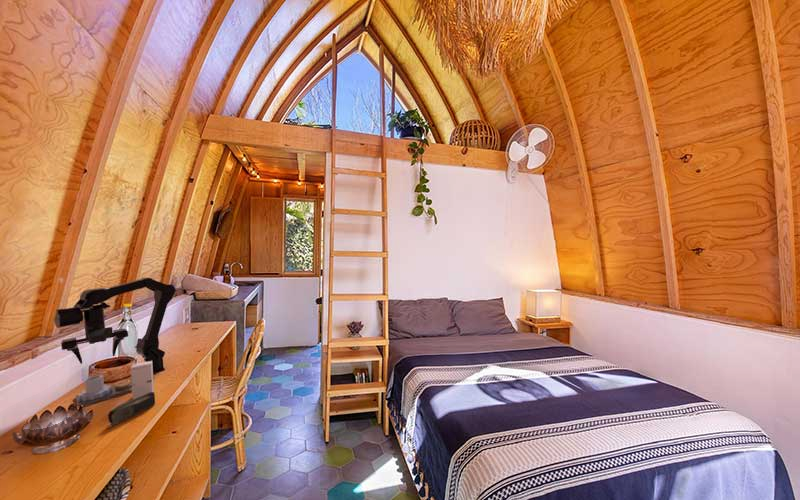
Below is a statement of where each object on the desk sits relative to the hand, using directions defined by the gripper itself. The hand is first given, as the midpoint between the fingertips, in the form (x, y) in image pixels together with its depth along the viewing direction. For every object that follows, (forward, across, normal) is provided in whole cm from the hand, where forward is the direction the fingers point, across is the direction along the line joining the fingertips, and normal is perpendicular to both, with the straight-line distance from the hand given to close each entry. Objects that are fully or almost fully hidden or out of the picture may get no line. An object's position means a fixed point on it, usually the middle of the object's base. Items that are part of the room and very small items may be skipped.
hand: (97, 359), depth 124 cm
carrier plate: (+12, +2, -8) cm, 15 cm away
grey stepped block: (+11, -2, -8) cm, 14 cm away
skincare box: (+12, +10, -22) cm, 27 cm away
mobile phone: (+12, +4, -37) cm, 39 cm away
